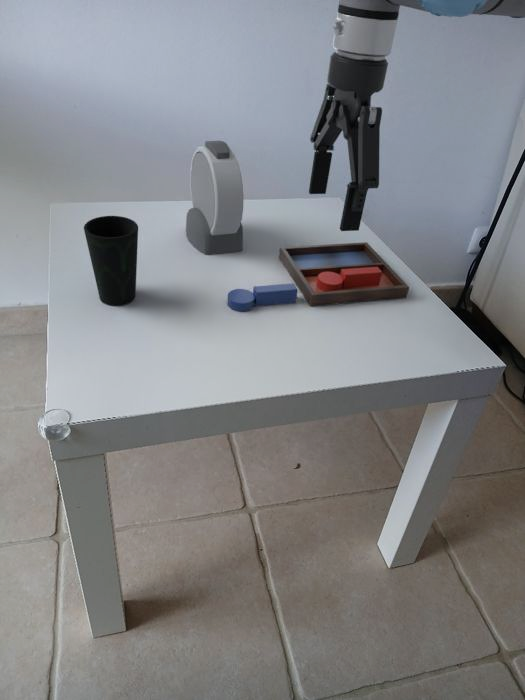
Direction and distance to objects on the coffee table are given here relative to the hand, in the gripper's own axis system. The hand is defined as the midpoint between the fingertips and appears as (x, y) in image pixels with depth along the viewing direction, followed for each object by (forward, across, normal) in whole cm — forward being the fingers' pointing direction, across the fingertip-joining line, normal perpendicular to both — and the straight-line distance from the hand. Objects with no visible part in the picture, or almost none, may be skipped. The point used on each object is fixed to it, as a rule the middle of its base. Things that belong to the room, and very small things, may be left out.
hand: (332, 210), depth 81 cm
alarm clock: (+15, -22, -14) cm, 30 cm away
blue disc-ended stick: (+15, +2, -11) cm, 18 cm away
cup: (+15, -3, -33) cm, 36 cm away
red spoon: (+14, -1, +6) cm, 15 cm away
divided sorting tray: (+15, -5, +6) cm, 17 cm away
